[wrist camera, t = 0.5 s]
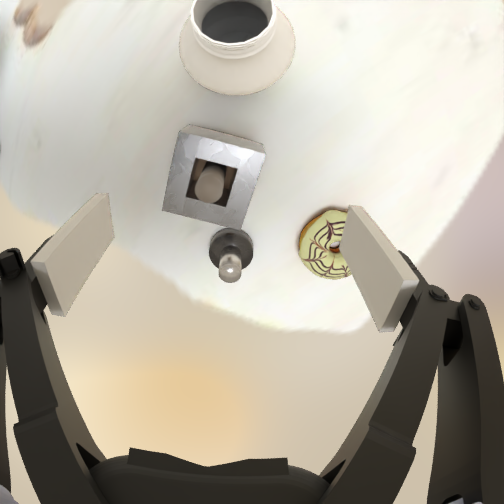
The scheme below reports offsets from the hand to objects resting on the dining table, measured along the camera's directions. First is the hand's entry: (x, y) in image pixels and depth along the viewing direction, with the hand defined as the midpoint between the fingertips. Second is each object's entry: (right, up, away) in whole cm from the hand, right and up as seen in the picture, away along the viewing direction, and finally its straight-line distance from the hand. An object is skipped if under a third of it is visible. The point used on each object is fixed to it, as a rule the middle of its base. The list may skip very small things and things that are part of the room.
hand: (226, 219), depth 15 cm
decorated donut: (+13, 0, +27) cm, 30 cm away
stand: (-3, +10, +20) cm, 22 cm away
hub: (-2, -1, +26) cm, 26 cm away
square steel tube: (-3, +7, +15) cm, 17 cm away
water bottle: (0, +20, +13) cm, 24 cm away
